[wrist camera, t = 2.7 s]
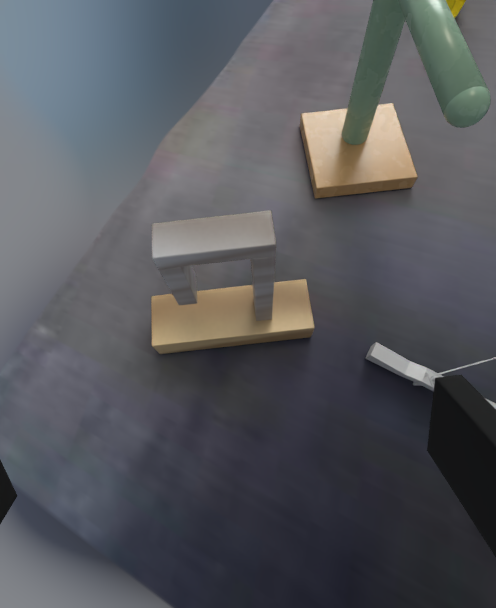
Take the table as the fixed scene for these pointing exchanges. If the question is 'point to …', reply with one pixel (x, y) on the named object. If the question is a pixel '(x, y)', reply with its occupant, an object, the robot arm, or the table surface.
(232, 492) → the table surface
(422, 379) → the crossbow
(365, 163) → the hanger stand
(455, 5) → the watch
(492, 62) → the table surface
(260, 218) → the grey arch on wood
